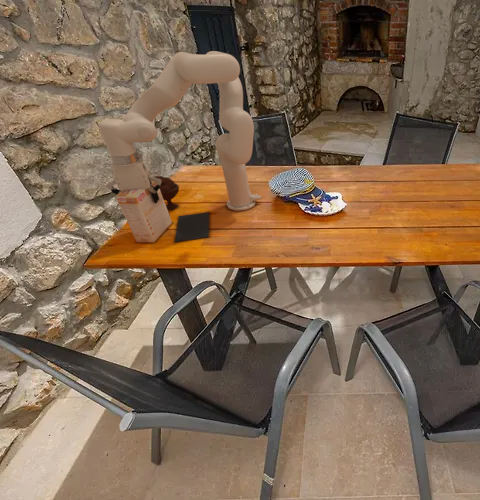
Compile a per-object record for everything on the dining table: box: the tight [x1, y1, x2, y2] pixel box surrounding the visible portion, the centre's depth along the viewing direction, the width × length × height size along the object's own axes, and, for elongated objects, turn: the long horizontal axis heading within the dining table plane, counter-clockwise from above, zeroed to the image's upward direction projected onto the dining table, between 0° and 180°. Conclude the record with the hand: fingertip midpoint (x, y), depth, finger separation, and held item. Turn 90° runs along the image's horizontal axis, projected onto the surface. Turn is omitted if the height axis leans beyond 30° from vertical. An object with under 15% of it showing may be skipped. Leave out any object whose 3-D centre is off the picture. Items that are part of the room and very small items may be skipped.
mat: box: [174, 211, 210, 243], centre depth 130 cm, size 12×20×1 cm, turn 19°
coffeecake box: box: [115, 181, 173, 244], centre depth 120 cm, size 15×7×20 cm, turn 178°
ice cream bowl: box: [154, 175, 180, 211], centre depth 138 cm, size 11×11×15 cm
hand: (142, 203), depth 118 cm, fingers open, 9 cm apart
